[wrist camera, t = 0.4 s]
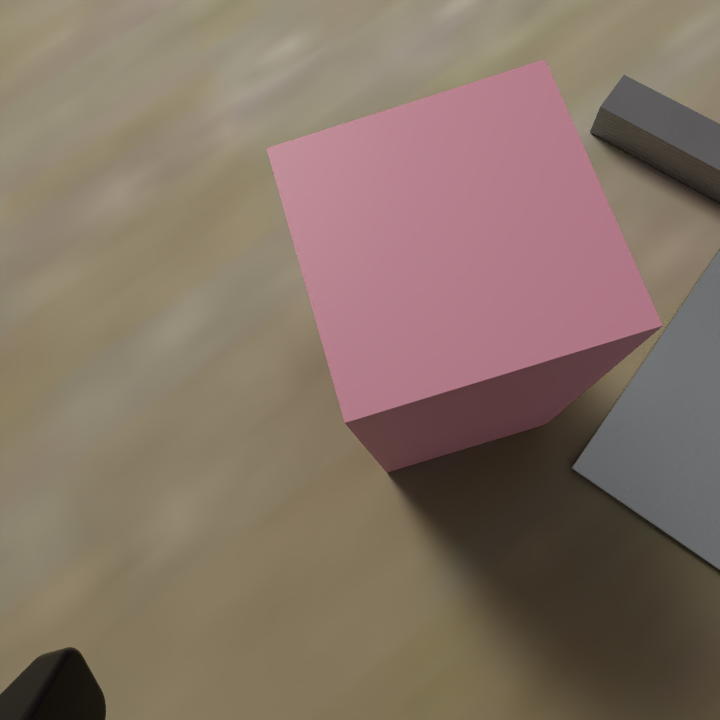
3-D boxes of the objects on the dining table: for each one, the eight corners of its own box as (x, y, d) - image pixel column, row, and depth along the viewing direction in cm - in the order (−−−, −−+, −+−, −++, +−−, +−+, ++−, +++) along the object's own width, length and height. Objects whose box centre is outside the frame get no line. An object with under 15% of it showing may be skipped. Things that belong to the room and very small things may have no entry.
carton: (546, 424, 21) (662, 325, 11) (387, 472, 21) (345, 422, 11) (488, 269, 23) (539, 46, 12) (340, 314, 23) (262, 134, 12)
